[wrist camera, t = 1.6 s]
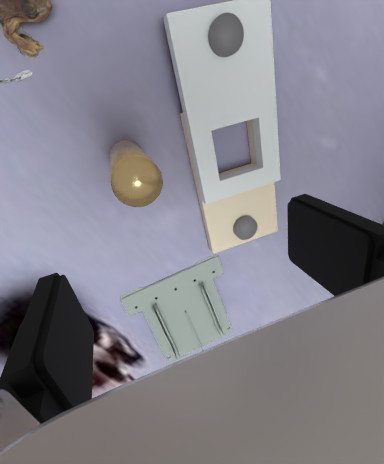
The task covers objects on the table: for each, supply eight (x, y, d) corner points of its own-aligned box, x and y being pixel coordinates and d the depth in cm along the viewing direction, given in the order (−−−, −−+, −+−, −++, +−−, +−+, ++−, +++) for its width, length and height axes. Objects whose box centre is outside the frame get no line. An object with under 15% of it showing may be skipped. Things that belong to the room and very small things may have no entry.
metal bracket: (251, 336, 39) (158, 382, 37) (237, 317, 44) (155, 357, 43) (218, 249, 36) (114, 296, 34) (207, 242, 41) (118, 281, 40)
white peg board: (160, 23, 25) (168, 10, 22) (253, 5, 27) (274, -11, 23) (209, 249, 37) (219, 262, 34) (271, 227, 39) (287, 237, 35)
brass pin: (137, 136, 28) (154, 150, 18) (146, 168, 30) (167, 198, 20) (104, 145, 28) (103, 164, 17) (116, 177, 30) (121, 213, 19)
